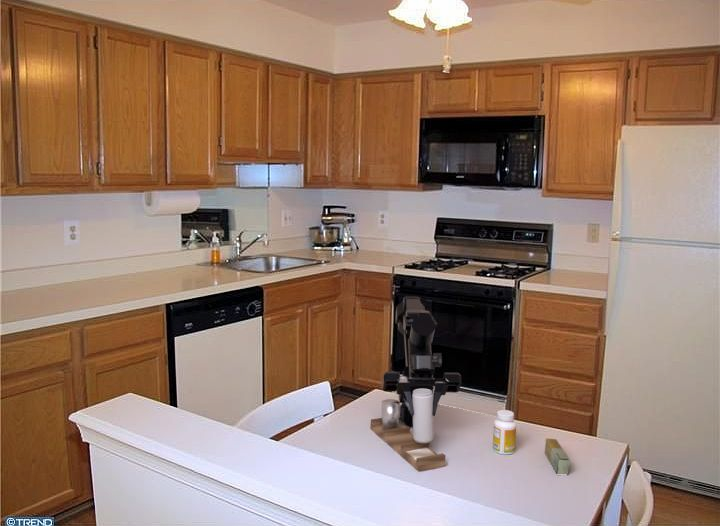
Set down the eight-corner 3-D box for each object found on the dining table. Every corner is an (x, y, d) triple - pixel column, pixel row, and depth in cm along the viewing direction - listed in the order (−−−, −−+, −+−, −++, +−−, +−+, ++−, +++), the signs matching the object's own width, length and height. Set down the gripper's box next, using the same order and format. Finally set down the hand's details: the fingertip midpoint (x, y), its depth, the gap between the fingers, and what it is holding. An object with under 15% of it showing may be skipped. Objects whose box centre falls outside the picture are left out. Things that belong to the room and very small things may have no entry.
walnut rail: (370, 429, 167) (370, 419, 167) (394, 425, 170) (394, 415, 170) (418, 471, 144) (419, 460, 143) (445, 466, 146) (445, 455, 146)
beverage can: (436, 442, 149) (435, 394, 148) (416, 445, 148) (415, 396, 147) (429, 434, 154) (429, 387, 152) (410, 437, 153) (409, 389, 151)
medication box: (568, 476, 143) (570, 460, 143) (556, 476, 143) (558, 459, 143) (554, 453, 155) (556, 438, 154) (543, 452, 155) (545, 437, 155)
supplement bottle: (517, 448, 157) (519, 410, 156) (512, 457, 152) (514, 418, 151) (495, 444, 159) (497, 407, 158) (490, 452, 154) (492, 414, 153)
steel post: (394, 423, 167) (394, 398, 166) (402, 430, 163) (402, 404, 162) (378, 426, 165) (378, 400, 164) (386, 432, 161) (386, 406, 160)
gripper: (384, 339, 152) (385, 400, 142) (461, 340, 152) (467, 401, 143) (382, 361, 161) (383, 419, 151) (455, 362, 161) (460, 420, 152)
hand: (423, 415), depth 149 cm, fingers closed on beverage can, 5 cm apart
